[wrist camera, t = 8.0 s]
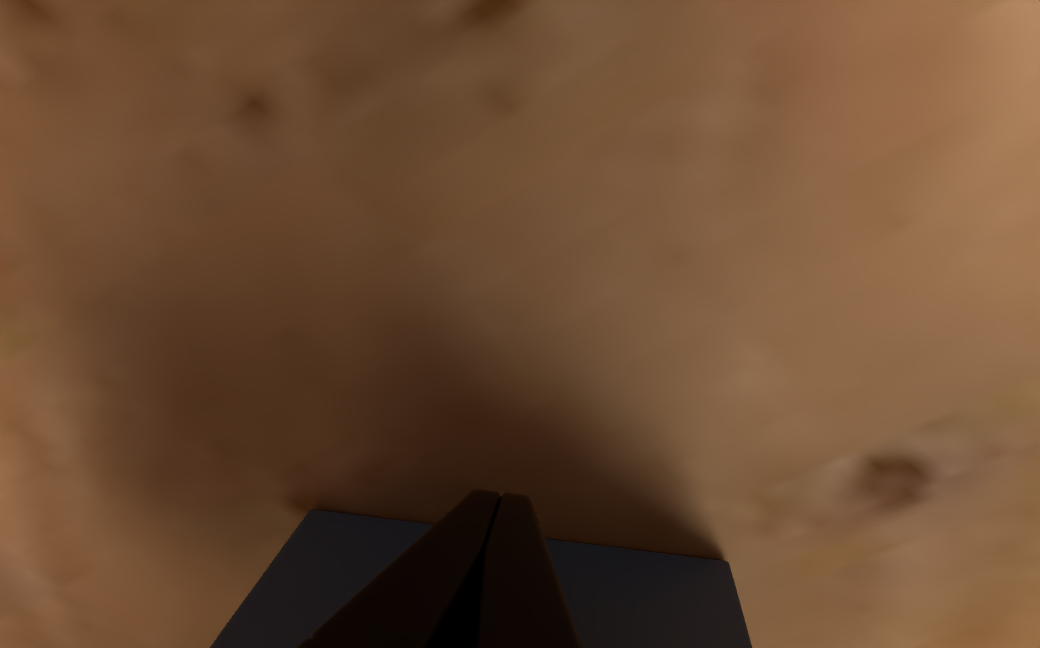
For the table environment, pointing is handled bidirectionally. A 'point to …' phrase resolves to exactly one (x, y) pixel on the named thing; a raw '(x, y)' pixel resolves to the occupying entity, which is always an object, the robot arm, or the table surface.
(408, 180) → the table surface
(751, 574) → the table surface
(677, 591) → the storage box
